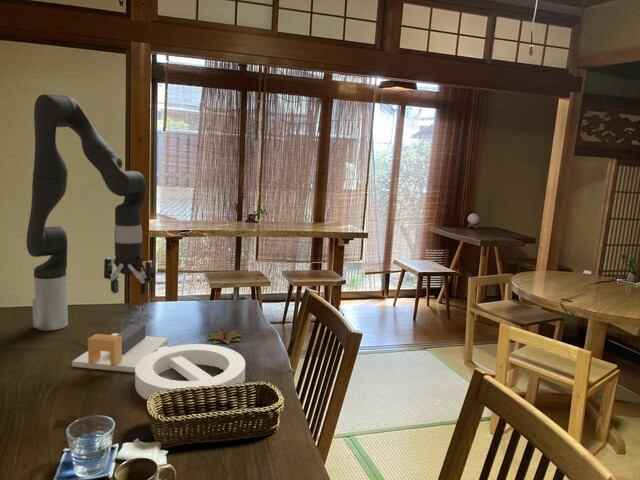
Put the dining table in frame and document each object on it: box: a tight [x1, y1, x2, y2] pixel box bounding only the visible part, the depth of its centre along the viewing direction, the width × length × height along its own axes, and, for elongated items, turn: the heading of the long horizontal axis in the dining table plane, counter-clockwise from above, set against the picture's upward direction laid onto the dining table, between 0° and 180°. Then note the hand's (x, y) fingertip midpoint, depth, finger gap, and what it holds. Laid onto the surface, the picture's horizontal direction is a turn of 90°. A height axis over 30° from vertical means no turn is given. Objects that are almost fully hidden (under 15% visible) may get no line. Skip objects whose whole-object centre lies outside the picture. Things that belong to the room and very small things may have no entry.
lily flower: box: [206, 325, 242, 345], centre depth 160 cm, size 12×12×5 cm
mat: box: [71, 332, 169, 373], centre depth 144 cm, size 18×22×2 cm
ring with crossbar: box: [134, 343, 246, 401], centre depth 130 cm, size 28×28×5 cm
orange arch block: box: [87, 333, 122, 366], centre depth 133 cm, size 7×4×7 cm, turn 84°
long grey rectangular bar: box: [117, 323, 146, 355], centre depth 146 cm, size 4×14×4 cm, turn 174°
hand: (129, 293), depth 145 cm, fingers open, 8 cm apart
